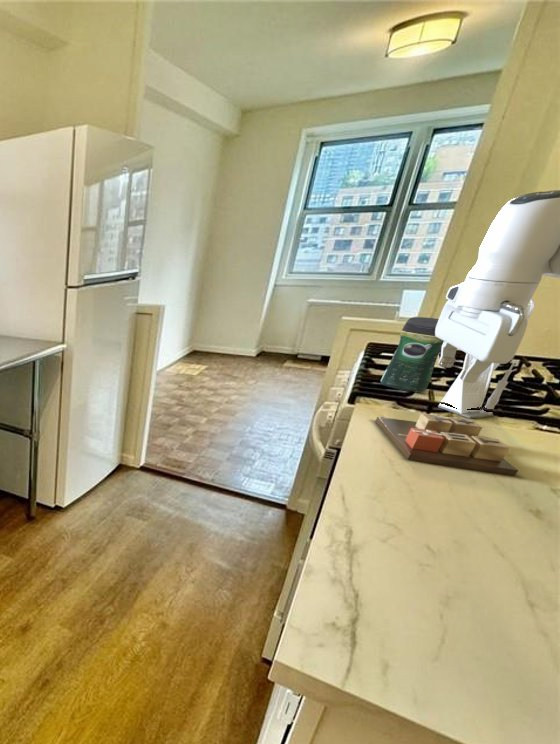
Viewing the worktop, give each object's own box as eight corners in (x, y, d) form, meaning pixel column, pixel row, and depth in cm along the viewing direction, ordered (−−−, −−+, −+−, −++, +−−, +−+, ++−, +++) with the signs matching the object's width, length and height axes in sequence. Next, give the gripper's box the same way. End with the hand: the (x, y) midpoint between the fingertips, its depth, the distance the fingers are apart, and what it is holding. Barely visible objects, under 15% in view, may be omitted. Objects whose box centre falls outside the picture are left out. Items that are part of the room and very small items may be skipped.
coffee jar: (428, 389, 130) (462, 319, 121) (419, 395, 126) (453, 323, 117) (385, 379, 137) (413, 313, 128) (374, 385, 133) (403, 316, 124)
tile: (459, 448, 96) (466, 434, 95) (468, 457, 93) (476, 442, 91) (433, 444, 97) (441, 430, 96) (442, 453, 94) (450, 439, 93)
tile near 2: (439, 429, 104) (446, 416, 103) (448, 436, 101) (455, 423, 99) (414, 425, 106) (421, 412, 104) (422, 433, 102) (429, 419, 101)
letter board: (464, 433, 105) (467, 427, 105) (515, 475, 89) (518, 469, 88) (375, 421, 111) (377, 416, 110) (407, 459, 94) (410, 453, 94)
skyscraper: (464, 418, 112) (530, 294, 99) (428, 405, 119) (485, 288, 106) (492, 415, 114) (560, 293, 101) (455, 403, 121) (514, 287, 108)
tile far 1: (490, 452, 94) (498, 438, 93) (501, 461, 91) (509, 447, 90) (464, 449, 96) (472, 435, 94) (474, 457, 93) (482, 443, 91)
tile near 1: (466, 432, 103) (473, 419, 101) (475, 440, 99) (483, 426, 98) (442, 429, 104) (449, 416, 103) (450, 437, 101) (457, 423, 99)
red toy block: (430, 444, 98) (437, 430, 96) (439, 452, 94) (446, 438, 93) (402, 440, 99) (409, 426, 98) (410, 448, 96) (417, 434, 95)
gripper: (555, 309, 74) (507, 394, 80) (487, 289, 91) (452, 361, 97) (501, 306, 76) (459, 389, 82) (444, 287, 93) (413, 357, 99)
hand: (455, 373), depth 90 cm, fingers open, 8 cm apart
